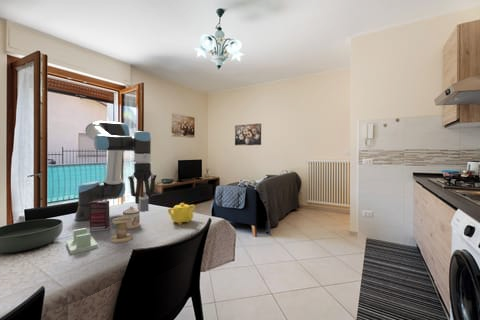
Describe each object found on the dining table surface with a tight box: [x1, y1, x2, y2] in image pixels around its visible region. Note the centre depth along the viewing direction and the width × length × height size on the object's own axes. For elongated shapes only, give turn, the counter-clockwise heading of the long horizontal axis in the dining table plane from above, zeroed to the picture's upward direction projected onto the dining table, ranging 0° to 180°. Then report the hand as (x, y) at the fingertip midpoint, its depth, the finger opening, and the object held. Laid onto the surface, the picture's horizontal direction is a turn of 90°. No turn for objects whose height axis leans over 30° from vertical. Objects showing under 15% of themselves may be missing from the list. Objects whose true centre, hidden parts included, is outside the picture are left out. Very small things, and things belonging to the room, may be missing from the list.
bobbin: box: [109, 216, 134, 244], centre depth 112 cm, size 10×10×10 cm
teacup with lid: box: [122, 205, 141, 230], centre depth 132 cm, size 12×9×12 cm
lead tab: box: [140, 196, 150, 213], centre depth 111 cm, size 6×3×6 cm, turn 43°
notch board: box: [66, 227, 99, 255], centre depth 103 cm, size 14×10×6 cm
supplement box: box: [89, 200, 111, 232], centre depth 125 cm, size 9×5×16 cm, turn 98°
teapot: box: [167, 202, 196, 226], centre depth 139 cm, size 14×14×12 cm
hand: (142, 209), depth 112 cm, fingers closed on lead tab, 3 cm apart
